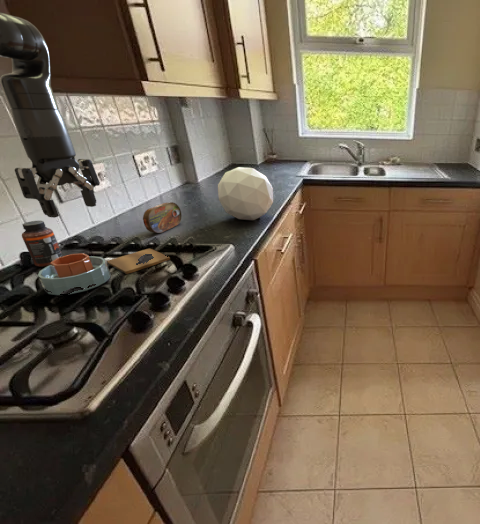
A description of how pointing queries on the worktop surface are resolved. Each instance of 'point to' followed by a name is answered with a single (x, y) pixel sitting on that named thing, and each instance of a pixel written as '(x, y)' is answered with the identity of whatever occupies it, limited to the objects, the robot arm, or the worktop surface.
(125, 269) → the board
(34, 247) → the supplement bottle
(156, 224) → the tin
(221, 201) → the ball
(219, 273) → the worktop surface
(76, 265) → the small bowl
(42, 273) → the big bowl
